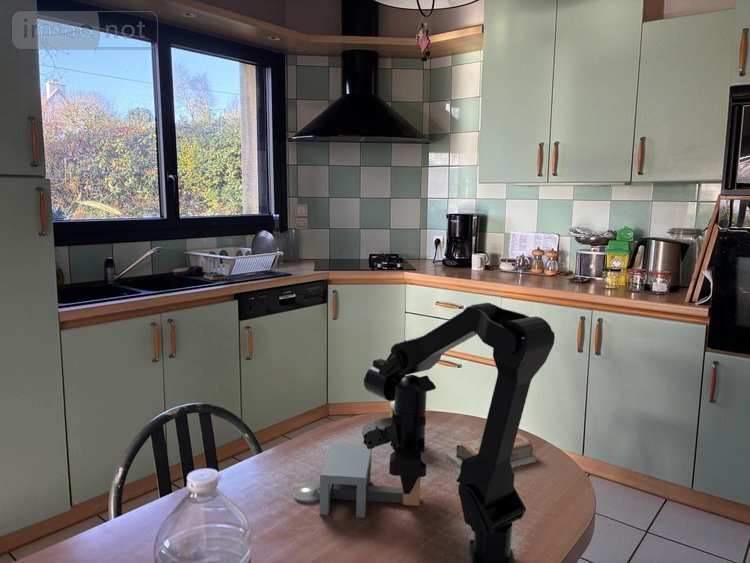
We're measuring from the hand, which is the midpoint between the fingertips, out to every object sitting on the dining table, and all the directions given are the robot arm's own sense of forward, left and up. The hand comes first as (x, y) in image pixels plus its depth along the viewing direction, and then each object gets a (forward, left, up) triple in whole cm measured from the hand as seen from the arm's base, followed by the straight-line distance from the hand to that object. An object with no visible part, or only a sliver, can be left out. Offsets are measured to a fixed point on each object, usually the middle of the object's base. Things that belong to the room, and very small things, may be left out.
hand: (406, 489), depth 107 cm
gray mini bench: (0, +11, -2) cm, 11 cm away
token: (0, +19, -3) cm, 19 cm away
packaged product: (+20, -18, -3) cm, 27 cm away
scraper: (0, +6, -2) cm, 7 cm away
